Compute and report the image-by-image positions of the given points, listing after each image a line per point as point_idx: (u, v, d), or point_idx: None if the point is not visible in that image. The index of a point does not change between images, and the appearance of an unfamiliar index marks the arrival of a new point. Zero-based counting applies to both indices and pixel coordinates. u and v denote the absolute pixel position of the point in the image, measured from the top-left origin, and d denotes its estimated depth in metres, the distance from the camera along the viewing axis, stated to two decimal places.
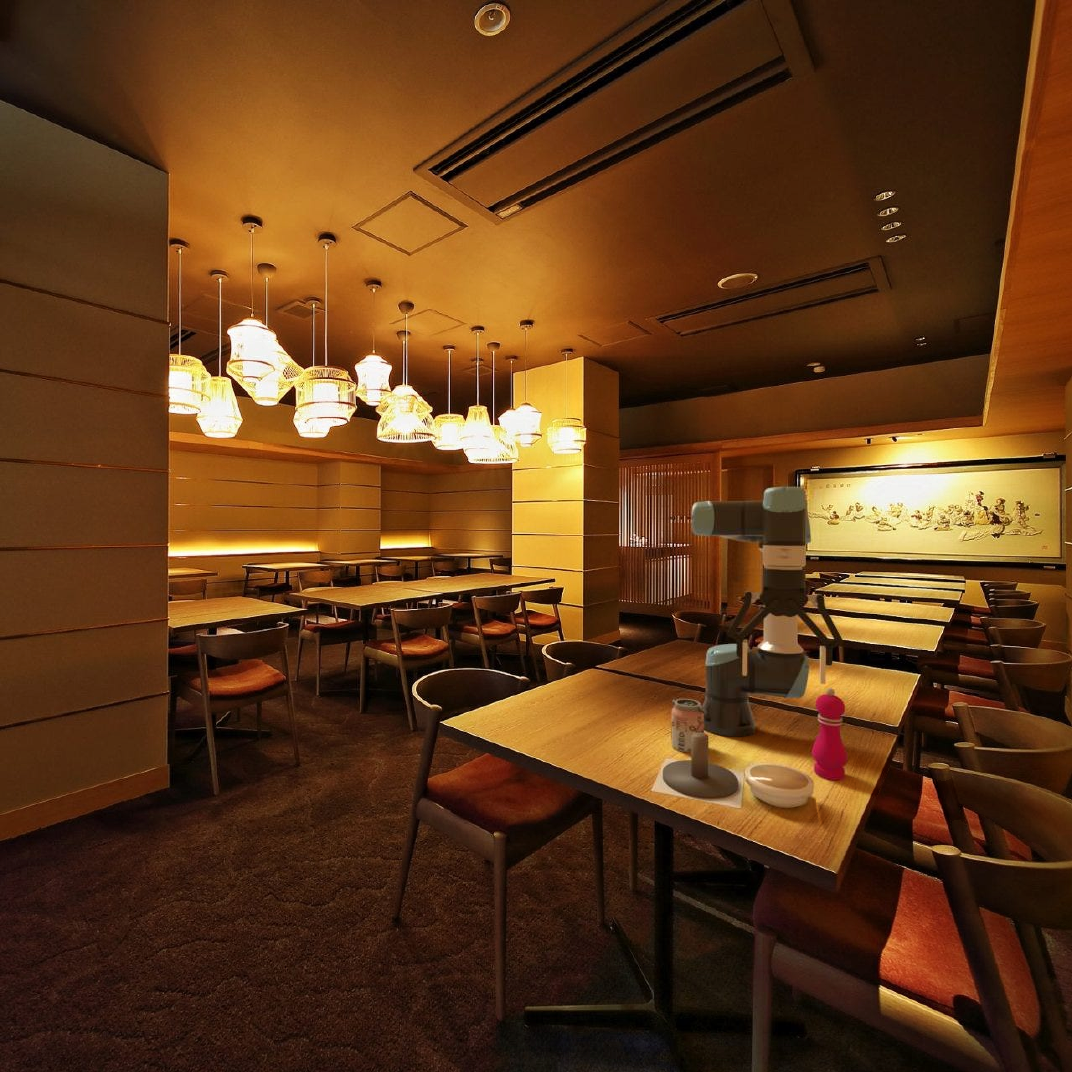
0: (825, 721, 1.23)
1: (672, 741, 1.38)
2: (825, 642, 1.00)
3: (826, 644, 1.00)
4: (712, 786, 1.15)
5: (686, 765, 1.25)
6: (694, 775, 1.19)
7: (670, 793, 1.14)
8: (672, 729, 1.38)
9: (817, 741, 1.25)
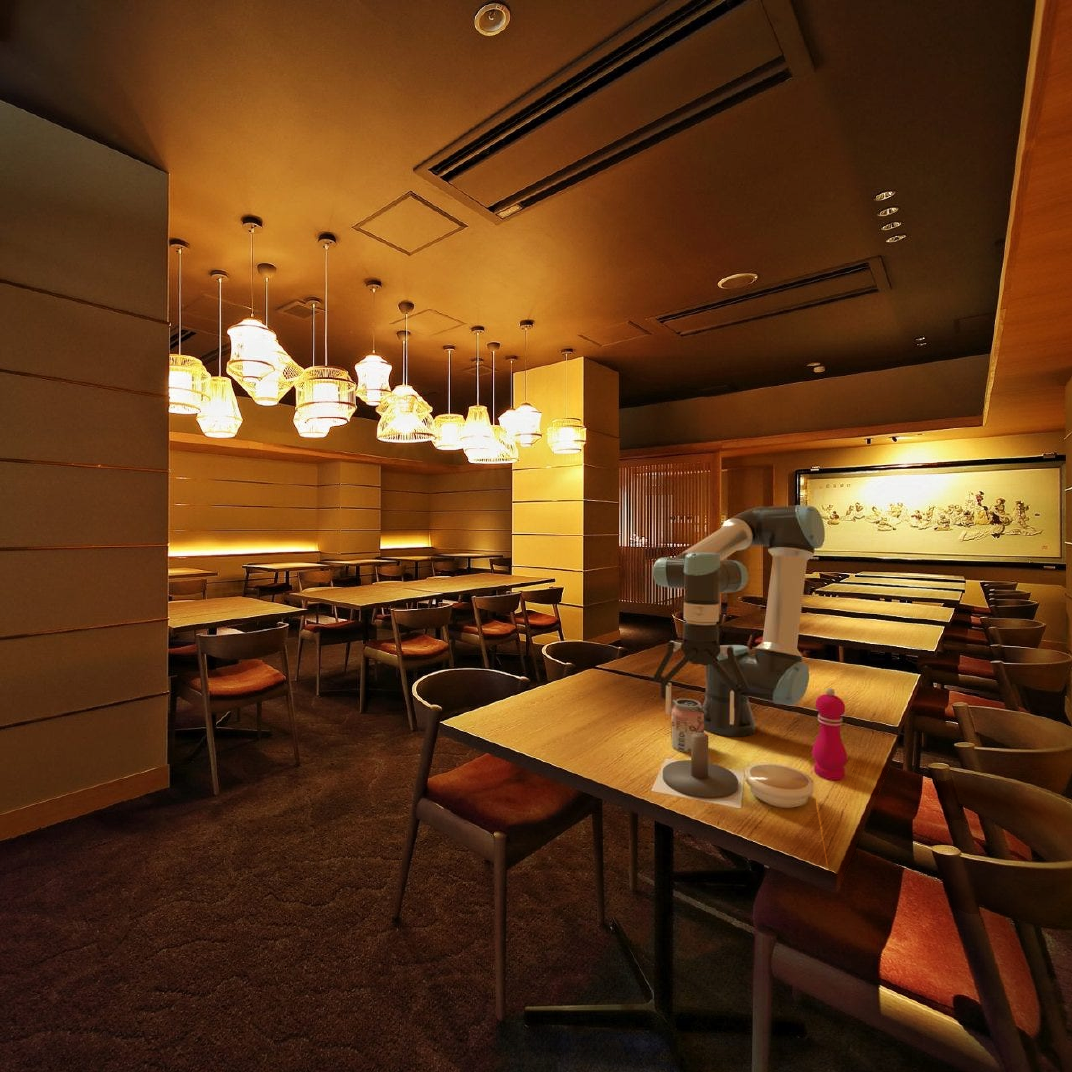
0: (825, 721, 1.23)
1: (672, 741, 1.38)
2: (733, 688, 1.15)
3: (734, 690, 1.15)
4: (712, 786, 1.15)
5: (686, 765, 1.25)
6: (694, 775, 1.19)
7: (670, 793, 1.14)
8: (672, 729, 1.38)
9: (817, 741, 1.25)
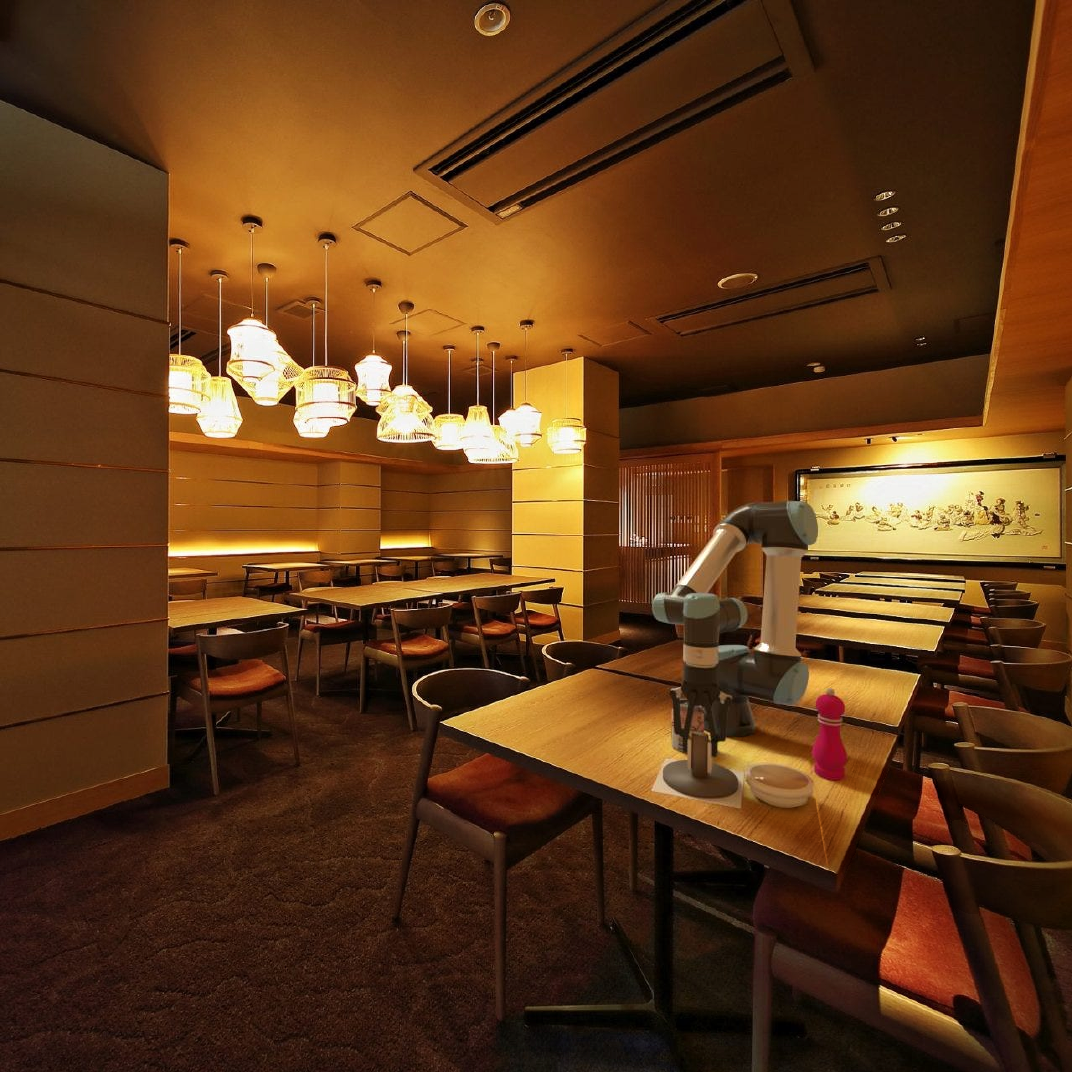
0: (825, 721, 1.23)
1: (672, 741, 1.38)
2: (712, 736, 1.18)
3: (712, 738, 1.18)
4: (712, 786, 1.15)
5: (686, 765, 1.25)
6: (694, 774, 1.19)
7: (670, 793, 1.14)
8: (672, 729, 1.38)
9: (817, 741, 1.25)
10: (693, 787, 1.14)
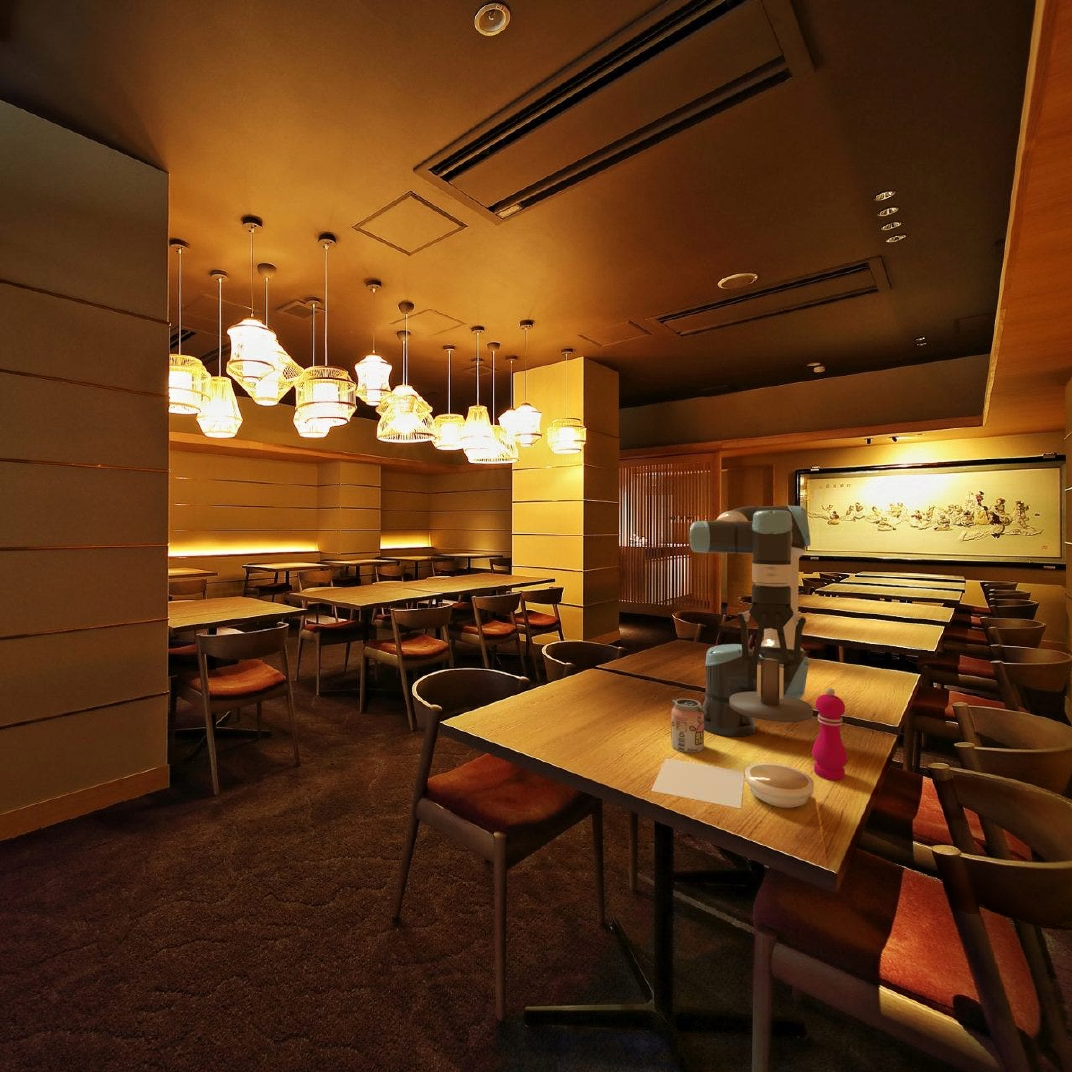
0: (825, 721, 1.23)
1: (672, 741, 1.38)
2: (785, 660, 1.11)
3: (784, 662, 1.11)
4: (786, 711, 1.08)
5: (753, 695, 1.18)
6: (764, 701, 1.12)
7: (670, 793, 1.14)
8: (672, 729, 1.38)
9: (817, 741, 1.25)
10: (766, 711, 1.07)
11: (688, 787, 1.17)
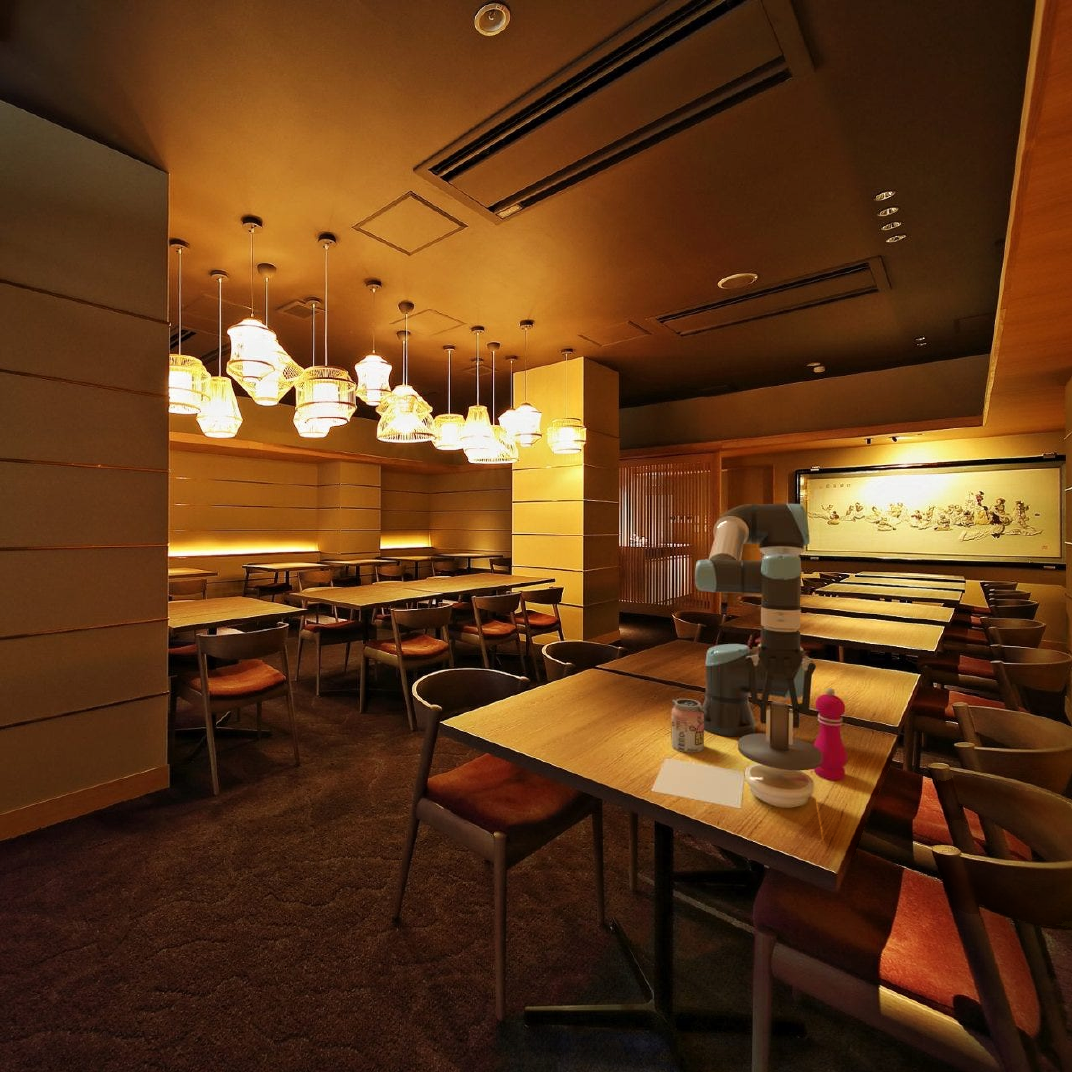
0: (825, 721, 1.23)
1: (672, 741, 1.38)
2: (794, 706, 1.10)
3: (794, 708, 1.10)
4: (796, 758, 1.07)
5: (761, 738, 1.17)
6: (774, 747, 1.11)
7: (670, 793, 1.14)
8: (672, 729, 1.38)
9: (817, 741, 1.25)
10: (776, 759, 1.06)
11: (688, 787, 1.17)
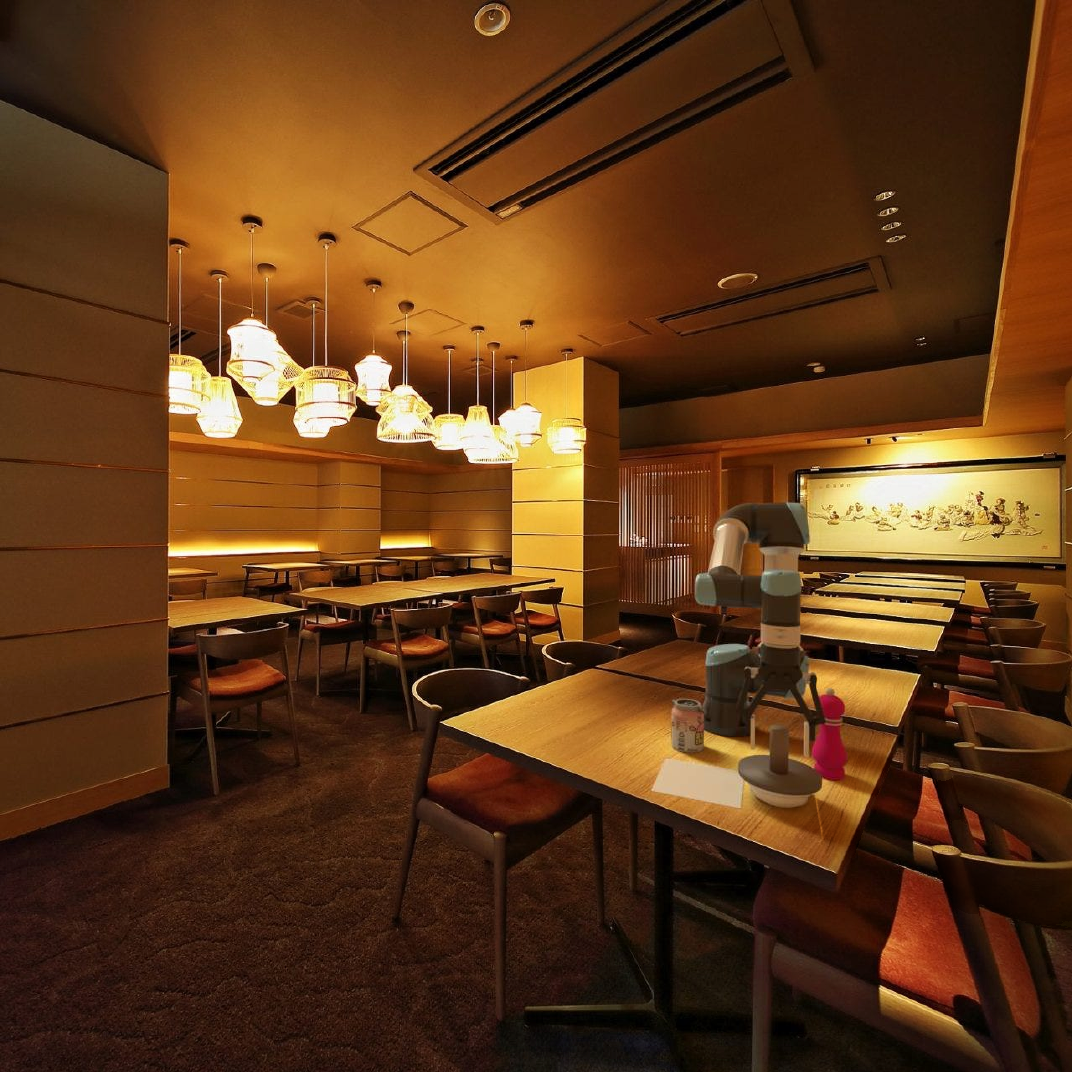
0: None
1: (672, 741, 1.38)
2: (809, 719, 1.09)
3: (809, 721, 1.09)
4: (796, 782, 1.07)
5: (761, 760, 1.18)
6: (773, 770, 1.11)
7: (670, 793, 1.14)
8: (672, 729, 1.38)
9: (817, 741, 1.25)
10: (776, 783, 1.07)
11: (688, 787, 1.17)
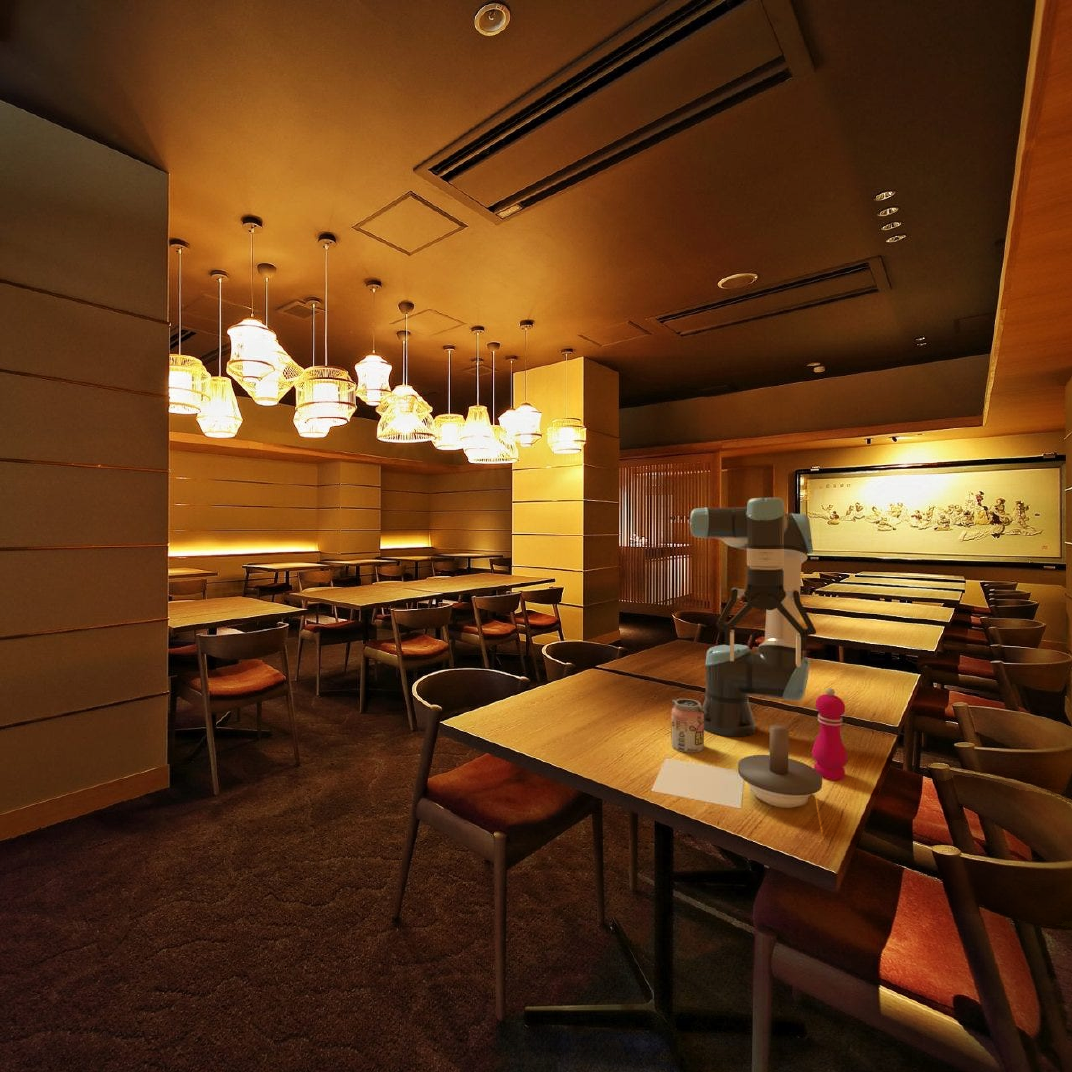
0: (825, 721, 1.23)
1: (672, 741, 1.38)
2: (800, 631, 1.16)
3: (801, 633, 1.16)
4: (796, 782, 1.07)
5: (761, 760, 1.18)
6: (773, 770, 1.11)
7: (670, 793, 1.14)
8: (672, 729, 1.38)
9: (817, 741, 1.25)
10: (776, 783, 1.07)
11: (688, 787, 1.17)
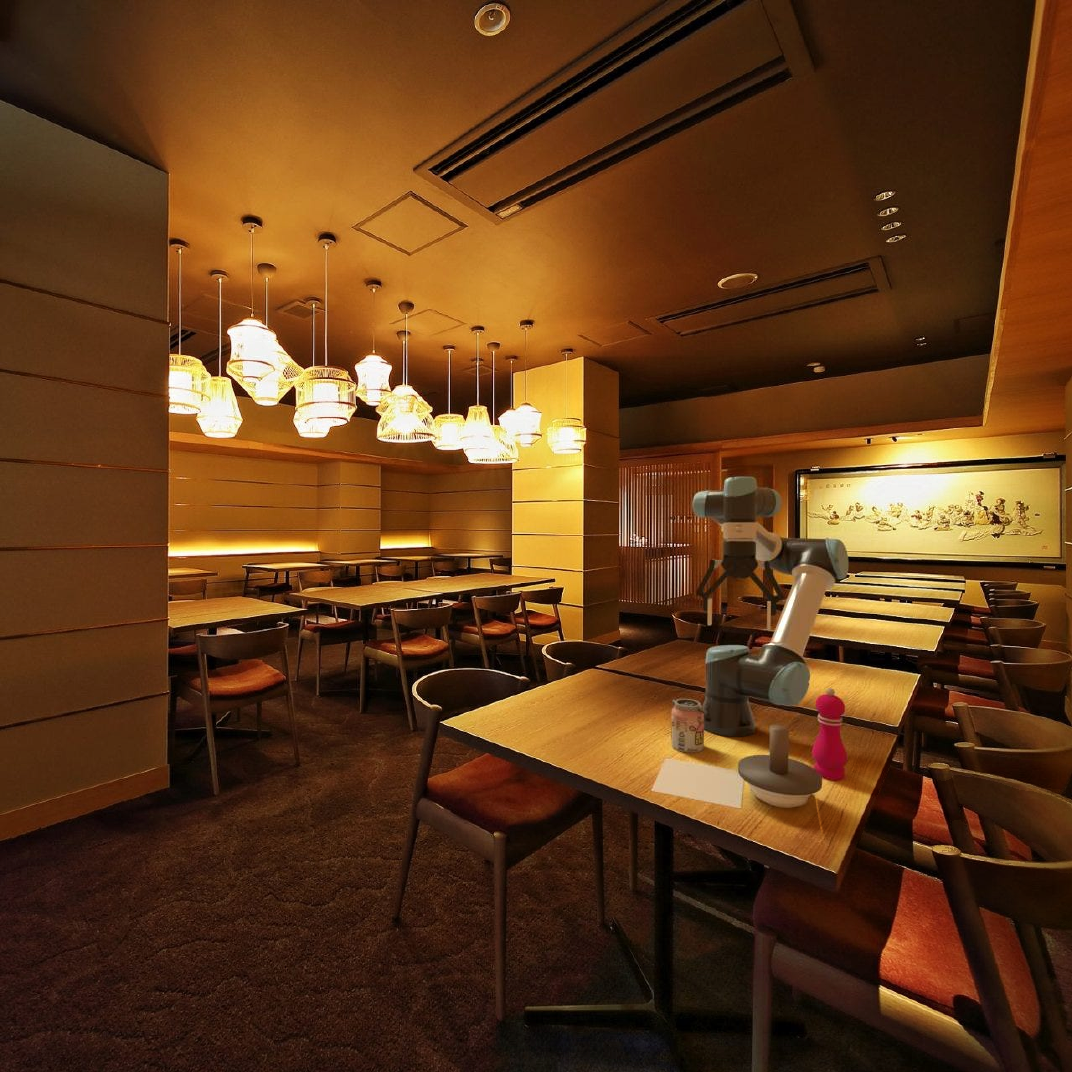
0: (825, 721, 1.23)
1: (672, 741, 1.38)
2: (770, 597, 1.28)
3: (771, 599, 1.28)
4: (796, 782, 1.07)
5: (761, 760, 1.18)
6: (773, 770, 1.11)
7: (670, 793, 1.14)
8: (672, 729, 1.38)
9: (817, 741, 1.25)
10: (776, 783, 1.07)
11: (688, 787, 1.17)
